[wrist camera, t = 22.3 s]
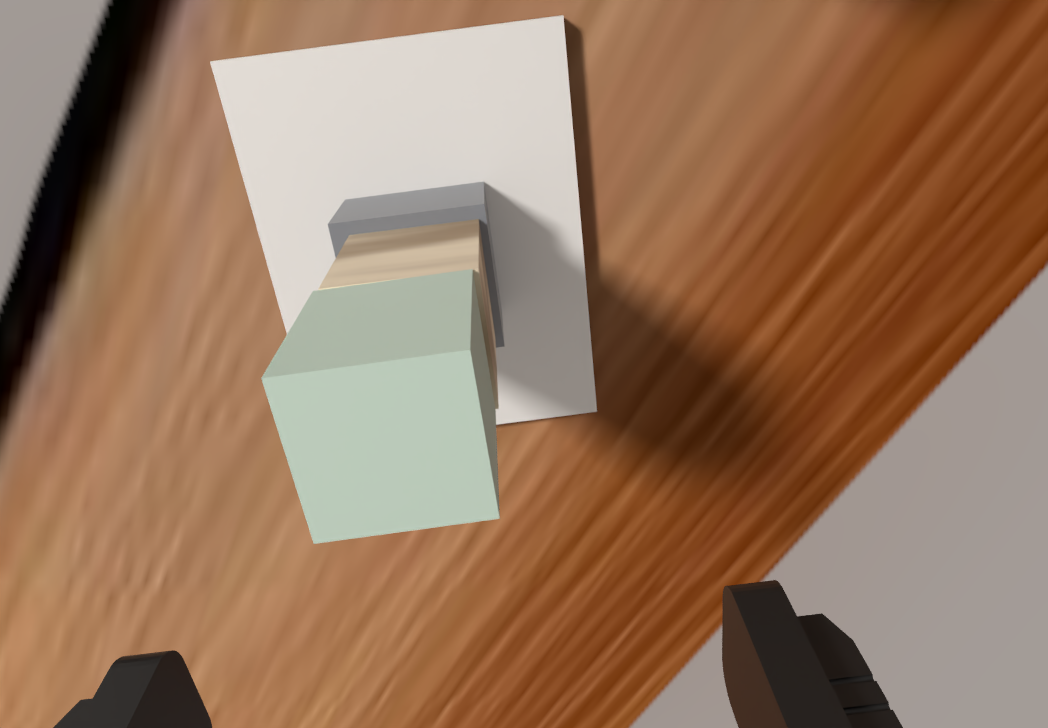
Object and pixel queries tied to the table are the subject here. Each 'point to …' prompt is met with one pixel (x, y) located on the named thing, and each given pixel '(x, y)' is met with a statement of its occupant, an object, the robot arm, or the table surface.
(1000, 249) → the table surface
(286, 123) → the build plate
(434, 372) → the sage block
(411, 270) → the birch block
